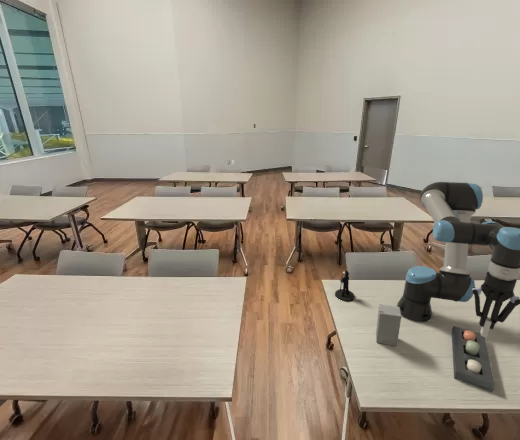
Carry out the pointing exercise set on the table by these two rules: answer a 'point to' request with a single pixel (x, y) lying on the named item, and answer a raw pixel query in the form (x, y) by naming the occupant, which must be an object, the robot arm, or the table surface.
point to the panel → (462, 357)
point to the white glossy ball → (473, 366)
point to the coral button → (469, 335)
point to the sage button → (472, 347)
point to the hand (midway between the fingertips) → (483, 334)
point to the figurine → (342, 293)
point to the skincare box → (388, 324)
